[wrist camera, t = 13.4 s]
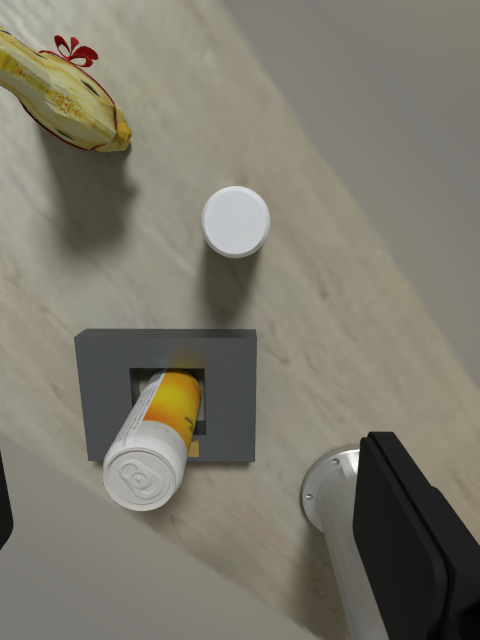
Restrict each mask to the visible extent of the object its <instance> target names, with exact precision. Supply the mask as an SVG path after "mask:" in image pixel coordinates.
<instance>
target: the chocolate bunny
mask: <svg viewBox="0 0 480 640" xmlns="http://www.w3.org/2000/svg"><path fill="white" fill-rule="evenodd" d="M54 38H55V43H56V46H57V48H58V47H59V46H60V45H61V44H62V45H64V46H65V47H66V48H67V49H68V51H69V53H70V49H69V47H68V45H67V43H66V42H65V40H64V39H63V38H62V37H61V36H59V35H57V36H55V37H54ZM78 44H79V41H78V40H77V39H76V38H74V37H71V54H72V51H73V49H74V47H75V46H76V45H78ZM58 50H59V49H58ZM59 52H60V50H59ZM50 53H52V54H54V55H56V56H58V57H60V58H61V59H60V58H58V57H56V56H54V55H52V54H50ZM60 53H61V52H60ZM71 54H70V56H69V57H66V56H64V55H63V54H62V53H61V55H62V56H63V57H64V58H66V59H67V60H68V61H67V60H65V59H64V58H62V57H61V56H59V55H57V54H55V53H53V52H51V51H45V50H41V51H39V52H36V51H35V50H33V49H31V48H29V47H27V46H25V45H24V44H23V43H21V42H20V41H19V40H17V39H16V38H15V37H14V36H12V35H11V34H10V33H8V32H7V31H6V30H5V29H3V28H2V27H0V85H1V86H2V87H4V88H6V89H7V90H9V91H10V92H12V93H13V94H14V95H15V96H16V97H17V98H18V100H19V101H20V103H21V104H22V106H23V108H24V109H25V111H26V112H27V113H28V114H29V115H30V116H31V117H32V118H33V119H34V120H35V121H36V122H37V123H38V124H39V125H41V126H42V127H43V128H44V129H46V130H47V131H48V132H50V133H51V134H53V135H54V136H56V137H57V138H59V139H60V140H62V141H64V142H66V143H67V144H69V145H72V146H74V147H76V148H79V149H82V150H87V151H89V150H93V149H95V150H96V151H98V152H106V153H111V152H117V151H123V150H126V149H127V147H128V146H129V144H130V142H131V140H130V138H131V135H132V134H131V129H130V127H129V126H128V124H127V122H126V119H125V117H124V115H123V113H122V112H121V111H120V110H119V109H118V108H117V107H116V106H115V104H114V102H113V100H112V99H111V97H110V96H109V95H108V93H107V92H106V91H105V90H104V89H103V88H102V86H101V85H100V84H98V83H97V82H96V81H95V80H94V79H93V78H92V77H91V76H90V75H88V74H87V73H86V72H84V71H83V70H82V69H80V68H79V67H77V66H81V67H90V66H91V65H92V64H93V62H92V60H98V55H97V53H96V52H95V51H94V50H92V49H91V48H89V47H86V46H81V47H79V48H78V49H77V50H76V51H75V52H74V53H73V55H72V56H71ZM74 58H86V63H85V64H84V65H77V64H74V63H72V62H70V60H72V59H74ZM62 59H63V60H62ZM91 59H92V60H91ZM64 60H65V61H64ZM71 63H72V64H71ZM73 64H74V65H73ZM75 65H77V66H75ZM76 67H77V68H78V69H77V68H76ZM79 69H80V70H81V71H83V72H84V73H85V74H86V75H88V76H89V77H90V78H91V79H92V80H91V79H90V78H89V77H88V76H86V75H85V74H84V73H82V72H81V71H80V70H79ZM93 80H94V81H95V82H96V83H97V84H98V85H99V86H100V87H101V88H100V87H99V86H98V85H97V84H96V83H95V82H94V81H93ZM104 92H105V93H106V94H107V95H106V94H105V93H104ZM109 98H110V99H111V100H110V99H109ZM27 109H28V110H29V111H30V112H31V113H32V114H33V115H34V116H35V117H36V118H37V119H36V118H35V117H34V116H33V115H32V114H31V113H30V112H29V111H28V110H27ZM42 124H43V125H42ZM45 126H46V127H47V128H46V127H45ZM49 129H50V130H51V131H50V130H49ZM52 131H53V132H54V133H53V132H52ZM55 133H56V134H57V135H56V134H55ZM59 136H60V137H59ZM62 138H63V139H62Z"/></svg>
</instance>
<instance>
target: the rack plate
mask: <svg viewBox="0 0 480 640" xmlns="http://www.w3.org/2000/svg"><path fill="white" fill-rule="evenodd" d="M74 341H75V350H76V358H77V367H78V375H79V384H80V393H81V401H82V410H83V418H84V427H85V436H86V444H87V453H88V461H104V459H105V456H106V454H107V452H108V451H109V449H110V447H111V445H112V444H113V442H114V440H115V438H116V437H117V435H118V433H119V431H120V430H121V428H122V426H123V425H124V423H125V421H126V419H127V418H128V416H129V414H130V412H131V411H132V409H133V407H134V405H135V404H136V402H137V400H138V399H139V397H140V391H139V377H138V368H205V408H206V421H196V423H195V427H194V432H193V436H192V440H191V445H190V449H189V453H188V458H187V461H201V462H255V421H256V356H257V336H256V330H243V329H85V330H84V331H82V332H81V333H80V334H78V335H77V336H75V337H74Z"/></svg>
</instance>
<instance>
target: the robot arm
mask: <svg viewBox="0 0 480 640" xmlns="http://www.w3.org/2000/svg"><path fill="white" fill-rule="evenodd" d="M301 495H302V503H303V507H304V511H305V513H306V515H307V517H308V519H309V520H310V522H311V523H312V524H313V525H314V526H315V527H316V528H317V529H318V530H319V531H321V532H322V533H324V536H325V540H326V544H327V548H328V552H329V556H330V559H331V563H332V567H333V571H334V575H335V579H336V583H337V587H338V591H339V594H340V598H341V602H342V606H343V610H344V614H345V618H346V622H347V625H348V629H349V633H350V637H351V640H480V546H479V544H478V543H477V541H476V540H475V539H474V537H473V536H472V535H471V533H470V532H469V530H468V529H467V528H466V526H465V525H464V523H463V522H462V521H461V519H460V518H459V517H458V515H457V514H456V512H455V511H454V510H453V508H452V507H451V505H450V504H449V503H448V501H447V500H446V499H445V497H444V496H443V494H442V493H441V492H440V491H439V490H438V489H437V488H435V487H433V486H431V485H430V483H429V482H428V481H427V479H426V478H425V476H424V475H423V473H422V472H421V471H420V469H419V468H418V466H417V465H416V463H415V462H414V461H413V459H412V458H411V456H410V455H409V454H408V452H407V451H406V449H405V448H404V446H403V445H402V444H401V442H400V441H399V439H398V438H397V436H396V435H395V434H394V433H393V432H369V433H368V436H367V437H362V438H361V441H360V446H349V447H343V448H340V449H337V450H334V451H332V452H330V453H328V454H326V455H324V456H323V457H322V458H321V459H319V460H318V461H317V462H316V463H315V464H314V465H313V466H312V467H311V468H310V470H309V471H308V473H307V475H306V476H305V479H304V482H303V485H302V493H301ZM12 529H13V517H12V511H11V506H10V500H9V496H8V490H7V485H6V480H5V474H4V469H3V463H2V457H1V452H0V550H1V548H2V547H3V546H4V544H5V543H6V541H7V540H8V539H9V537H10V535H11V533H12Z"/></svg>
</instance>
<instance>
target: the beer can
mask: <svg viewBox="0 0 480 640" xmlns="http://www.w3.org/2000/svg"><path fill="white" fill-rule="evenodd" d="M200 401H201V389H200V386H199V384H198V382H197V380H196V379H195V378H194V377H193V376H192V375H191V374H189V373H188V372H186V371H184V370H181V369H176V368H168V369H163V370H161V371H159V372H157V373H155V374H154V375H153V376H152V377H151V378H150V380H149V381H148V383H147V385H146V386H145V388H144V390H143V392H142V393H141V395H140V397H139V399H138V400H137V402H136V404H135V405H134V407H133V409H132V411H131V412H130V414H129V416H128V418H127V419H126V421H125V423H124V425H123V426H122V428H121V430H120V431H119V433H118V435H117V437H116V438H115V440H114V442H113V444H112V445H111V447H110V449H109V451H108V452H107V454H106V456H105V459H104V463H103V472H104V474H103V482H104V486H105V489H106V491H107V493H108V494H109V496H110V497H111V498H112V499H113V500H114V501H115V502H116V503H118V504H119V505H121V506H123V507H125V508H127V509H130V510H134V511H149V510H153V509H156V508H159V507H161V506H162V505H164V504H165V503H166V502H167V501H168V500H169V499H170V498H171V496H172V495H174V494H175V493H176V491H177V490H178V489H179V487H180V485H181V483H182V480H183V475H184V471H185V466H186V462H187V458H188V453H189V449H190V445H191V440H192V436H193V432H194V427H195V423H196V419H197V414H198V410H199V406H200Z"/></svg>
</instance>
